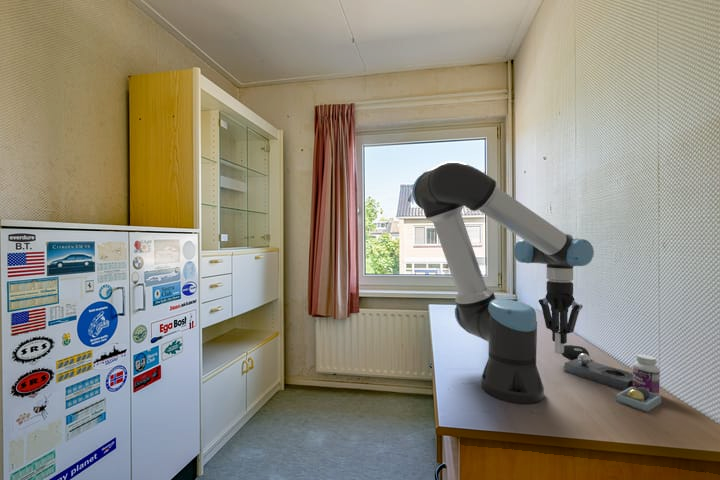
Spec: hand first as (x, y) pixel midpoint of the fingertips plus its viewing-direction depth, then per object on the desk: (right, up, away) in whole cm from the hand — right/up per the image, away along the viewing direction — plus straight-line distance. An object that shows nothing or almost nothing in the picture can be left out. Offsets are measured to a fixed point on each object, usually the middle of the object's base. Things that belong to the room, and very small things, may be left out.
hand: (559, 352), depth 106 cm
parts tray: (+4, -4, -25) cm, 26 cm away
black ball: (+6, -2, -24) cm, 25 cm away
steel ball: (+4, 0, -6) cm, 7 cm away
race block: (+6, -4, -10) cm, 12 cm away
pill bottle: (+10, -4, -20) cm, 23 cm away
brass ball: (+2, -2, -26) cm, 27 cm away
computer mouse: (+10, -5, +7) cm, 13 cm away
